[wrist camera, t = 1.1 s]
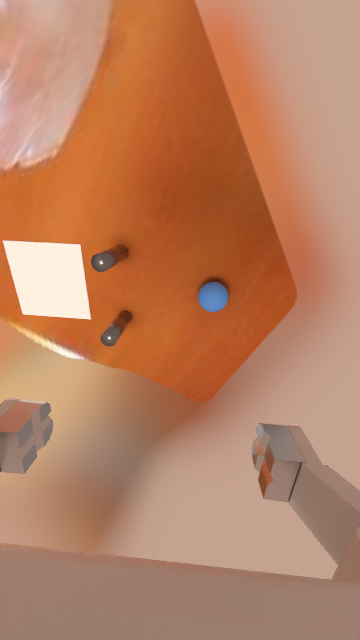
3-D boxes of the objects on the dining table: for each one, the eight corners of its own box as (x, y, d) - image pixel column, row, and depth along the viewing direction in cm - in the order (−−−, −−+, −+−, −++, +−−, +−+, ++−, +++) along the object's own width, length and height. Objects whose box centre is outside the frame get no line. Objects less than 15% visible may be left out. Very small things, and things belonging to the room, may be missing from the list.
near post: (113, 245, 39) (90, 253, 31) (127, 245, 39) (107, 254, 31) (115, 259, 40) (92, 271, 32) (128, 260, 40) (109, 272, 32)
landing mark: (3, 240, 40) (2, 240, 40) (80, 244, 39) (80, 244, 39) (23, 313, 46) (22, 314, 46) (91, 318, 45) (90, 319, 45)
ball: (199, 277, 40) (198, 285, 35) (228, 279, 40) (231, 287, 35) (197, 304, 42) (196, 315, 37) (225, 306, 42) (227, 317, 37)
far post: (119, 310, 44) (99, 332, 36) (131, 311, 44) (115, 333, 36) (120, 321, 45) (101, 345, 37) (132, 322, 45) (116, 347, 37)
